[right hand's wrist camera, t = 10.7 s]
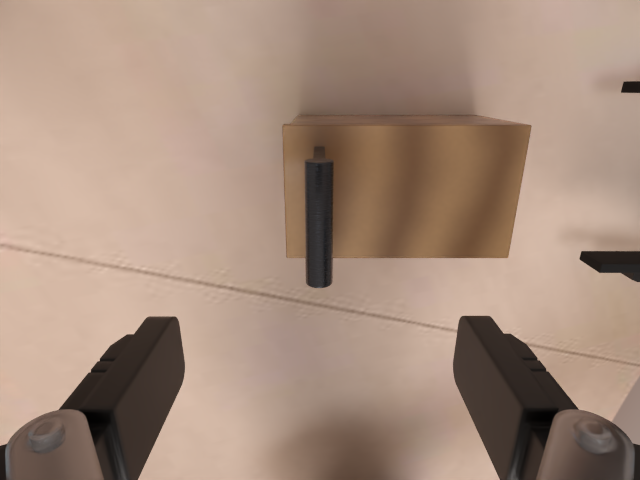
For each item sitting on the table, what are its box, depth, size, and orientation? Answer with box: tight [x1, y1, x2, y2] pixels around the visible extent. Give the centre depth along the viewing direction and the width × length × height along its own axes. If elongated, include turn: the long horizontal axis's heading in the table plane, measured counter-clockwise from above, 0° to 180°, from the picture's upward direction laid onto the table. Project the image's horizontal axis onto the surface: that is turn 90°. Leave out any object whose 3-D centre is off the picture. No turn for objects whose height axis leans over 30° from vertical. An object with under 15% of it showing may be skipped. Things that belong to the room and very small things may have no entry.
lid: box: [282, 124, 531, 288], centre depth 25 cm, size 16×9×8 cm, turn 90°
